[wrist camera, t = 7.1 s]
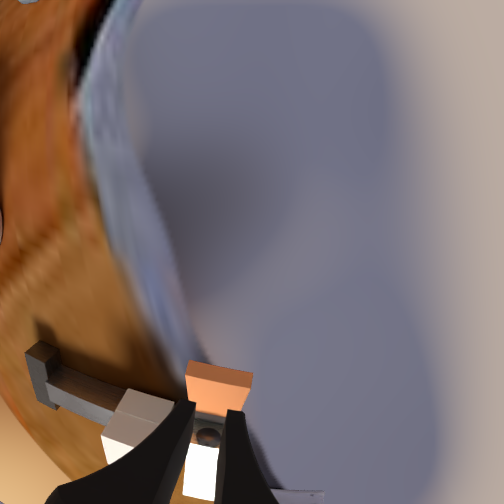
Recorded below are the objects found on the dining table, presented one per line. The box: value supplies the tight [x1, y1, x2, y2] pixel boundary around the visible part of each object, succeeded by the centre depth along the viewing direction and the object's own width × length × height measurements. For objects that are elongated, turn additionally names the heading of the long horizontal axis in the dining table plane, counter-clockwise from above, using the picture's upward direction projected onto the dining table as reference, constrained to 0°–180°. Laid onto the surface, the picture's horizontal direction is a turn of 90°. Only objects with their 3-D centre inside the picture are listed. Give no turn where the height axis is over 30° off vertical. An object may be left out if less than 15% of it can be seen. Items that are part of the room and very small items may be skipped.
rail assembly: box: [25, 340, 224, 501], centre depth 19 cm, size 18×8×6 cm, turn 79°
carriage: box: [101, 388, 174, 464], centre depth 19 cm, size 4×4×6 cm
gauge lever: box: [185, 360, 253, 423], centre depth 15 cm, size 3×8×1 cm, turn 169°
